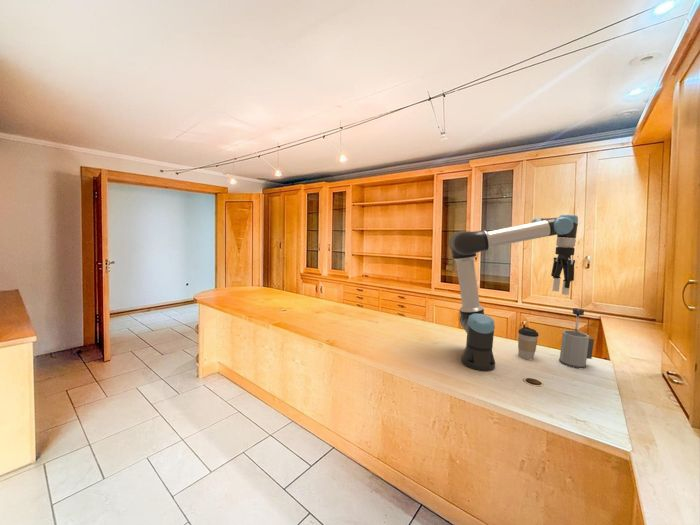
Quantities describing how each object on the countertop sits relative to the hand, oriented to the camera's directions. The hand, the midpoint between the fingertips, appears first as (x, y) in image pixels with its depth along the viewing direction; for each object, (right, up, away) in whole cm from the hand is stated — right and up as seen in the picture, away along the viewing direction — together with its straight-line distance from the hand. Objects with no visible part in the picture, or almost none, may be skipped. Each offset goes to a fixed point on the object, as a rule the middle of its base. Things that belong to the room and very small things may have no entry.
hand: (560, 292), depth 147 cm
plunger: (+7, -23, -1) cm, 24 cm away
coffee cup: (-13, -34, +7) cm, 37 cm away
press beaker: (+8, -36, +1) cm, 36 cm away
